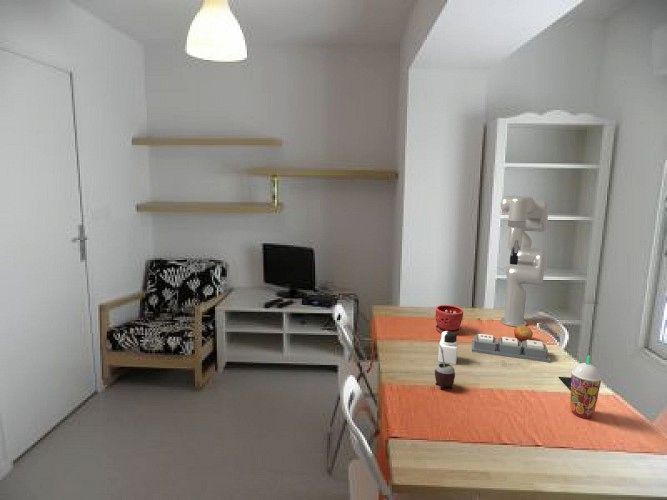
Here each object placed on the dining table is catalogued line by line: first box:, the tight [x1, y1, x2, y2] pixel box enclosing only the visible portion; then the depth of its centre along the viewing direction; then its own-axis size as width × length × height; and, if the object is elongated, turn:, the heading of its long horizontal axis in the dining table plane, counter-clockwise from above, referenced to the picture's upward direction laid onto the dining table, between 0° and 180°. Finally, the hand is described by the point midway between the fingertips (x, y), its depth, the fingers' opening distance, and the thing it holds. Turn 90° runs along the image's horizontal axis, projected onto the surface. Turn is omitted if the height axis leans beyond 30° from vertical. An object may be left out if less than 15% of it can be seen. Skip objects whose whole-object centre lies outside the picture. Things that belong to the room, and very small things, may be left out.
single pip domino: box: [526, 339, 544, 350], centre depth 179 cm, size 6×6×4 cm
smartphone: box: [558, 376, 571, 392], centre depth 153 cm, size 7×1×15 cm
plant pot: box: [435, 304, 464, 335], centre depth 206 cm, size 13×13×12 cm
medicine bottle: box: [437, 331, 459, 365], centre depth 173 cm, size 7×7×12 cm
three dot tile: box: [478, 333, 494, 343], centre depth 186 cm, size 6×6×4 cm
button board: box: [471, 334, 551, 363], centre depth 183 cm, size 11×31×4 cm, turn 71°
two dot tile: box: [501, 336, 518, 346], centre depth 183 cm, size 6×6×4 cm
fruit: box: [513, 325, 534, 343], centre depth 197 cm, size 8×8×8 cm
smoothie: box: [569, 355, 603, 419], centre depth 134 cm, size 8×8×20 cm
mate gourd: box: [434, 341, 456, 391], centre depth 151 cm, size 8×8×15 cm
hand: (513, 264), depth 192 cm, fingers closed
